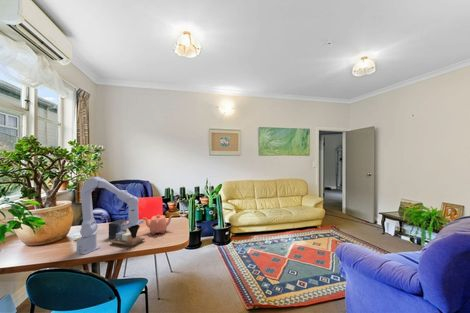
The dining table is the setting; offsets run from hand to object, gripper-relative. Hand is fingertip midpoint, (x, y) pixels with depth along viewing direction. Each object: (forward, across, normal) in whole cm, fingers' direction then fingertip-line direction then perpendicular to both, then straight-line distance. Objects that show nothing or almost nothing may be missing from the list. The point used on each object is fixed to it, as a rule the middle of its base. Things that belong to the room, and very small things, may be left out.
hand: (133, 237), depth 134 cm
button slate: (+2, 0, +11) cm, 11 cm away
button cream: (+2, 0, +5) cm, 6 cm away
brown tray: (+4, 0, +6) cm, 7 cm away
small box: (+5, +7, +22) cm, 24 cm away
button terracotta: (+4, 0, 0) cm, 4 cm away
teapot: (+5, +23, 0) cm, 24 cm away
